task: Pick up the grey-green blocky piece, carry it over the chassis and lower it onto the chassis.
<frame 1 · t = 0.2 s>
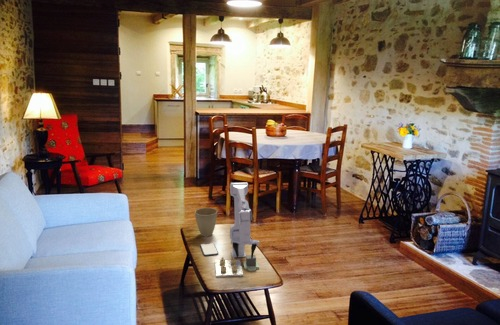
hand: (244, 257, 218), 10 cm above the table, tool pointing down, fingers open, 7 cm apart
plant pot: (206, 234, 275), on the table
grey-green blocky piece: (251, 266, 229), on the table
chassis: (228, 268, 226), on the table
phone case: (209, 251, 250), on the table
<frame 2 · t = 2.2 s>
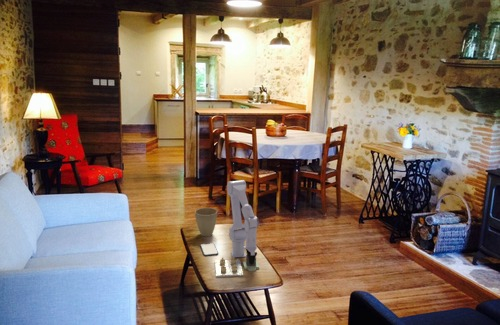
hand: (251, 262, 229), 2 cm above the table, tool pointing down, fingers closed on grey-green blocky piece, 4 cm apart
grey-green blocky piece: (251, 266, 229), on the table, touching gripper
everything else where it was.
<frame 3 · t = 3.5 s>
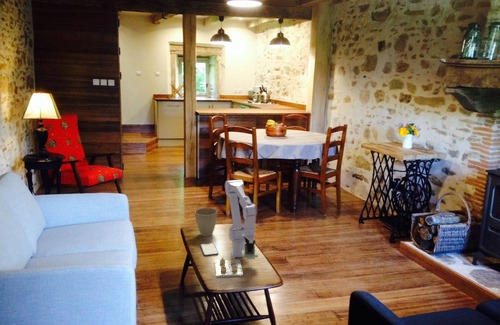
hand: (249, 250, 227), 9 cm above the table, tool pointing down, fingers closed on grey-green blocky piece, 4 cm apart
grey-green blocky piece: (249, 254, 228), point 7 cm above the table, touching gripper
everything else where it was.
when the fingers open (6 cm above the table, at t = 5.3 s): grey-green blocky piece stays where it is, resting on chassis.
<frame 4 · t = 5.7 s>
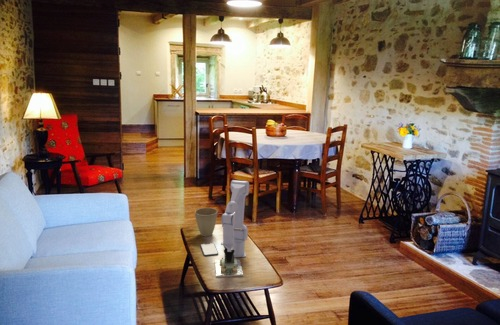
hand: (228, 258, 225), 6 cm above the table, tool pointing down, fingers open, 7 cm apart
grey-green blocky piece: (229, 263, 225), point 3 cm above the table, touching chassis
everything else where it was.
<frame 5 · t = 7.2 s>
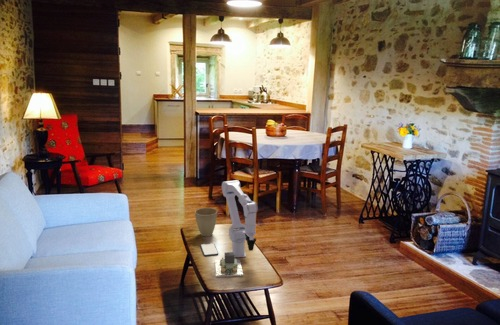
hand: (250, 247, 230), 10 cm above the table, tool pointing down, fingers open, 7 cm apart
nothing on the table moved.
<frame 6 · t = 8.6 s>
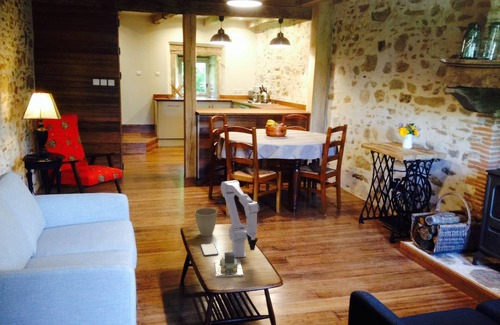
hand: (251, 247, 230), 10 cm above the table, tool pointing down, fingers open, 7 cm apart
nothing on the table moved.
at the end: grey-green blocky piece 0.5 cm off-centre on the chassis, point 3.0 cm above the chassis's base; grey-green blocky piece tilted 0°; the gripper is holding nothing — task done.
